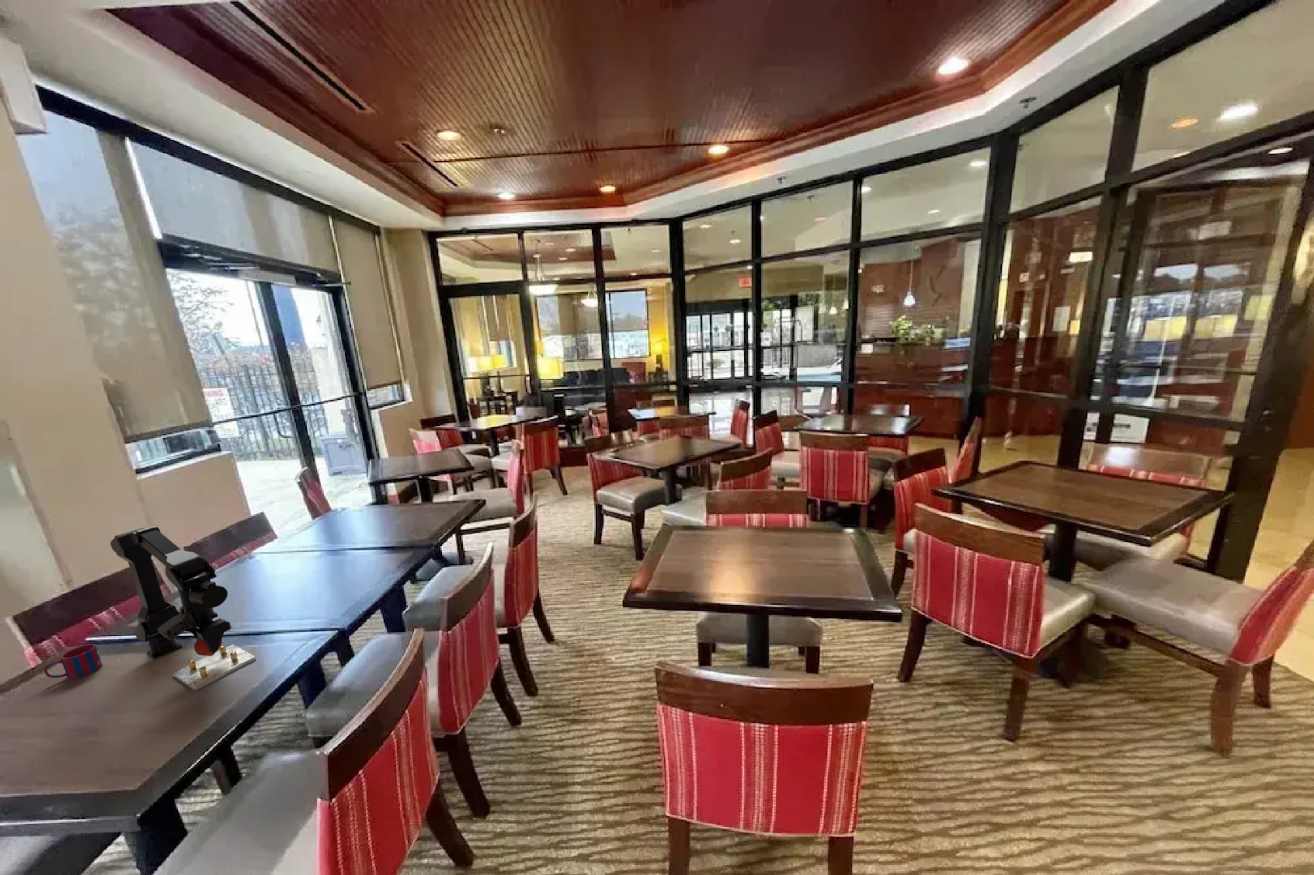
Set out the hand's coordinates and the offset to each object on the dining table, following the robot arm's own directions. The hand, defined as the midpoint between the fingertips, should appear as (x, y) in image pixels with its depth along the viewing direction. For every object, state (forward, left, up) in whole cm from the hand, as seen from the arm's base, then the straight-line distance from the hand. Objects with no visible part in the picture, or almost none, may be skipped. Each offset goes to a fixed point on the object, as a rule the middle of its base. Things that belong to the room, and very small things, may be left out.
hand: (209, 649), depth 137 cm
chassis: (0, 0, -6) cm, 6 cm away
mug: (-36, -19, -6) cm, 41 cm away
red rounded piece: (0, 0, -2) cm, 2 cm away
